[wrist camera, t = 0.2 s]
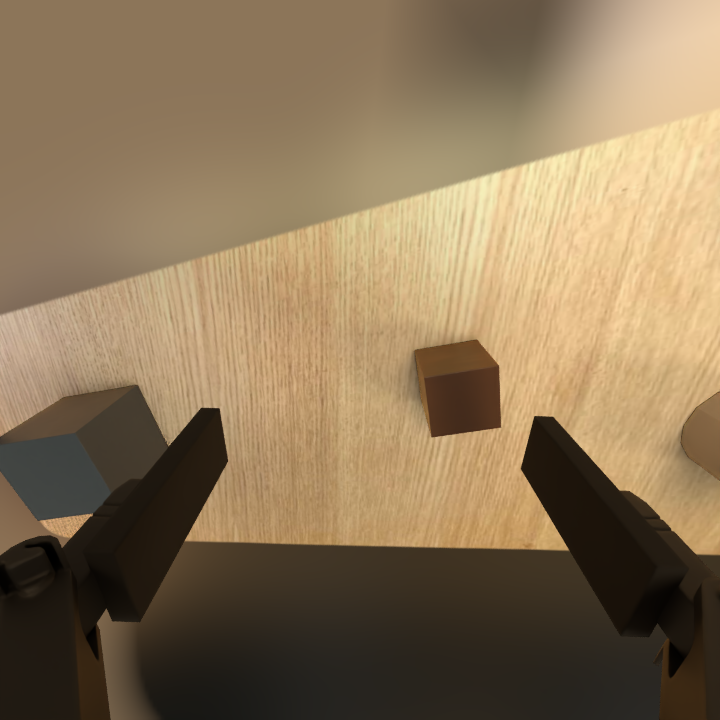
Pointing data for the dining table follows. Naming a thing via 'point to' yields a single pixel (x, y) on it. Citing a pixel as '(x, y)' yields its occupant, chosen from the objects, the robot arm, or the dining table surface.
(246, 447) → the dining table surface
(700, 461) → the cup
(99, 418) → the slate block
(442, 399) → the walnut block
